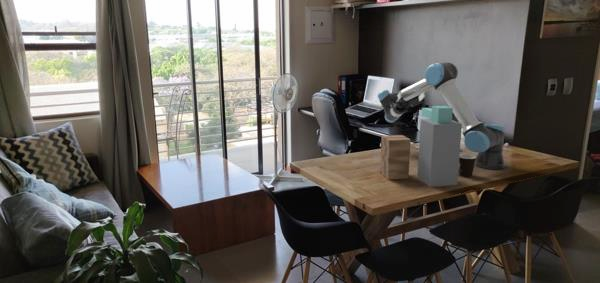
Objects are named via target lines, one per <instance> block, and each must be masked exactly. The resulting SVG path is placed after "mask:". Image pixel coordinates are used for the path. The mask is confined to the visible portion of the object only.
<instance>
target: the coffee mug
mask: <svg viewBox="0 0 600 283" xmlns="http://www.w3.org/2000/svg"><path fill="white" fill-rule="evenodd" d="M476 157H477V156H475V155H472V154H460V155H459V168H458V177H459V176H460V177H463V178H472V177H473V174H474V169H475V166H476V165H475V160H476Z"/></svg>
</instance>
